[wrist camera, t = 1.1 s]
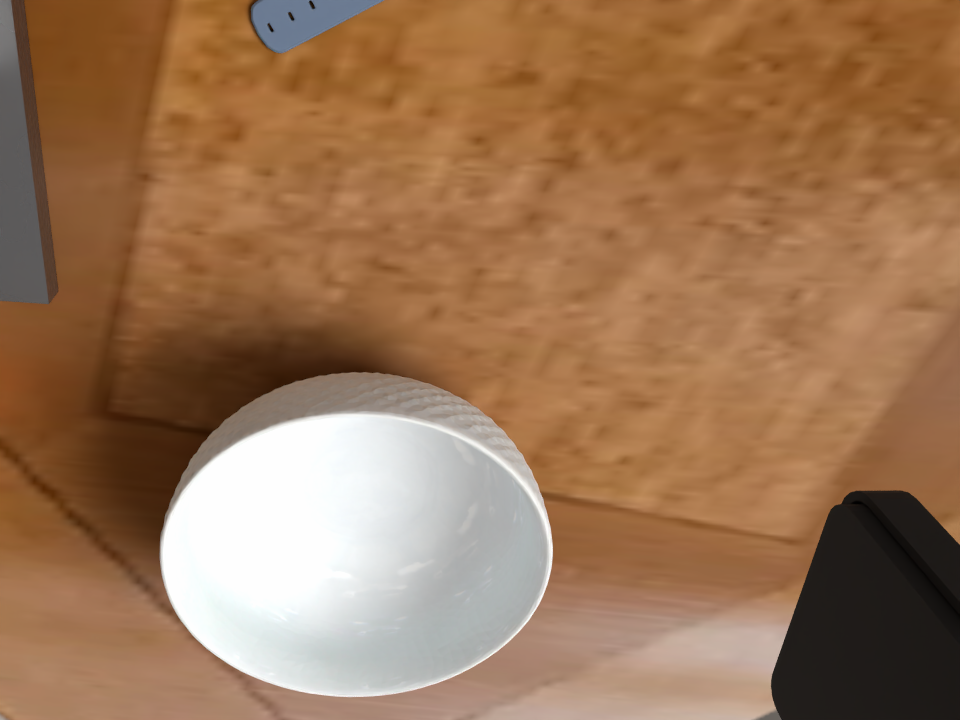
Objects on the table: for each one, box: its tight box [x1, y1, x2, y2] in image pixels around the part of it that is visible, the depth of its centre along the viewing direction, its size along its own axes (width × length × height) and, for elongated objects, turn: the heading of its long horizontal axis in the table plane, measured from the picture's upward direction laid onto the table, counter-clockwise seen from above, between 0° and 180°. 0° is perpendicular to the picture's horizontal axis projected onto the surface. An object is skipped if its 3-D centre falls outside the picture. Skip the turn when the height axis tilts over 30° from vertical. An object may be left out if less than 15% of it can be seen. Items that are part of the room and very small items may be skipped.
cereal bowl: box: [160, 372, 553, 697], centre depth 40 cm, size 17×17×7 cm
